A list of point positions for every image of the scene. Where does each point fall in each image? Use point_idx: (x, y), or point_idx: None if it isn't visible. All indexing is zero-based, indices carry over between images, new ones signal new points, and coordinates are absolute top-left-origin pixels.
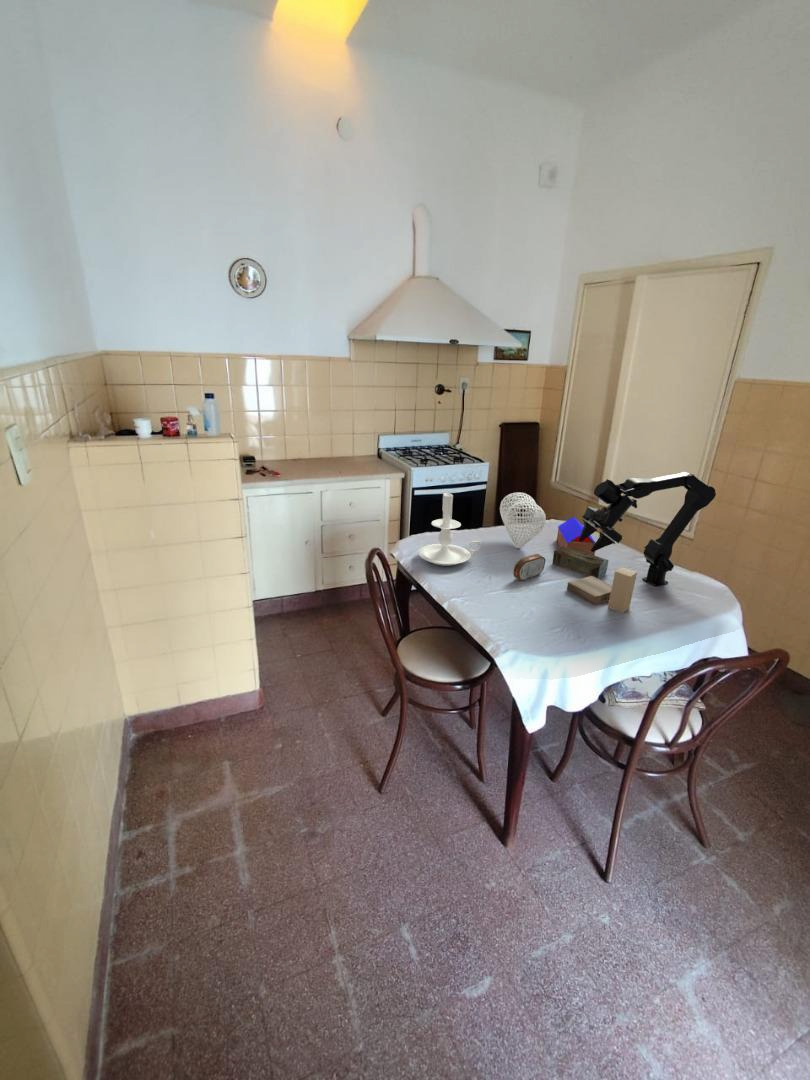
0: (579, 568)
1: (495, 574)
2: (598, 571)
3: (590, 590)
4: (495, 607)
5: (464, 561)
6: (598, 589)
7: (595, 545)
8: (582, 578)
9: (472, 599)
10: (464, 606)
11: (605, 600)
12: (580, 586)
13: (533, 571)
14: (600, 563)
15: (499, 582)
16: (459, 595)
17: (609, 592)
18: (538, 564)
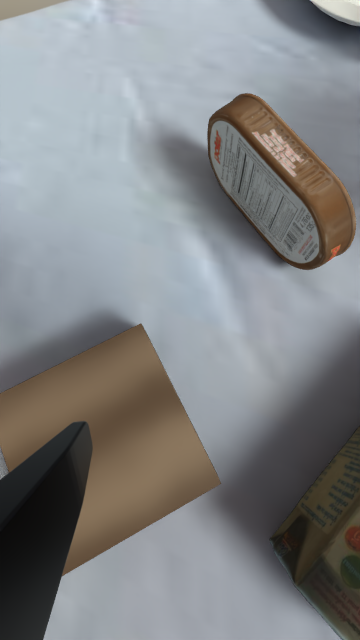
0: (344, 461)
1: None
2: (282, 556)
3: (49, 401)
4: (38, 83)
5: (316, 3)
6: None
7: (7, 477)
8: (183, 413)
9: (91, 39)
10: (53, 19)
11: None
12: (94, 367)
13: (263, 215)
14: (329, 603)
15: (206, 118)
16: (117, 14)
17: None
18: (288, 217)
